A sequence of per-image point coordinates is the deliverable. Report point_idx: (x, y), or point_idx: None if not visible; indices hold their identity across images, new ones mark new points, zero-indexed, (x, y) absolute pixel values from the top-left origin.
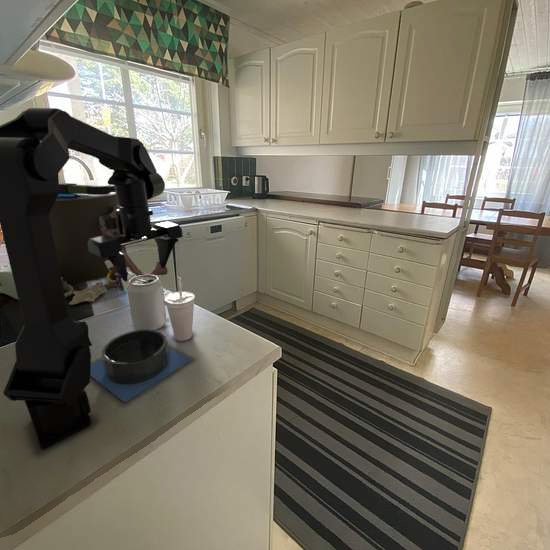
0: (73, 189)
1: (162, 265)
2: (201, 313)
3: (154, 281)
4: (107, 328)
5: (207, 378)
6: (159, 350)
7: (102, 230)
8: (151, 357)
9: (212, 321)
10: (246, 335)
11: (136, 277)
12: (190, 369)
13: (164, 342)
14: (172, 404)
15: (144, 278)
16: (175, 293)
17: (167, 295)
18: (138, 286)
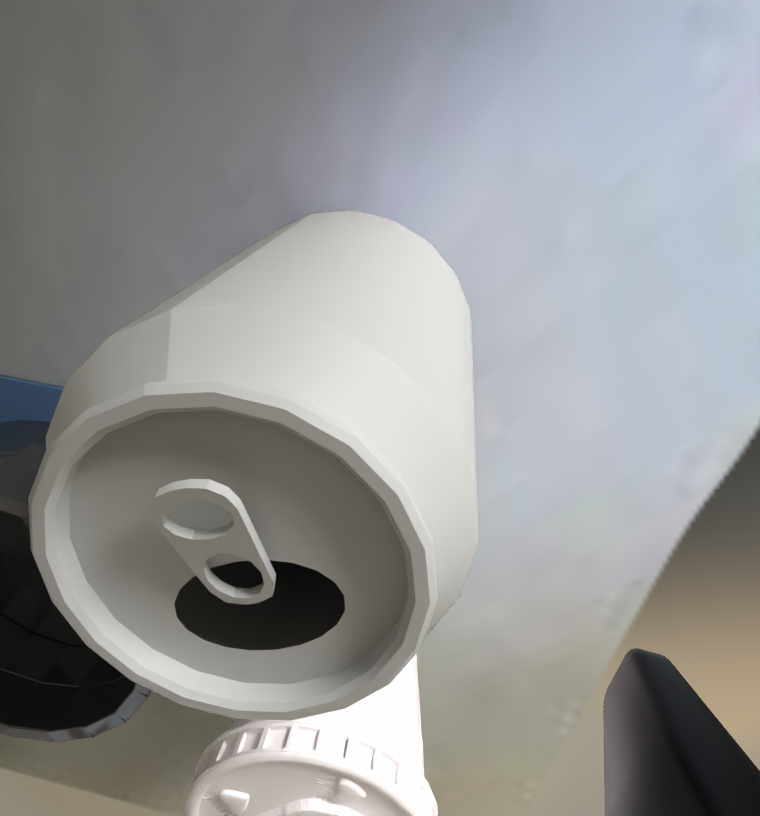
0: None
1: (615, 747)
2: (660, 525)
3: (261, 716)
4: (144, 54)
5: (192, 781)
6: (53, 735)
7: None
8: (2, 733)
9: (583, 629)
10: (521, 802)
11: (227, 412)
12: (190, 719)
13: (108, 721)
14: (39, 748)
15: (312, 491)
16: (341, 794)
17: (274, 760)
18: (91, 605)
